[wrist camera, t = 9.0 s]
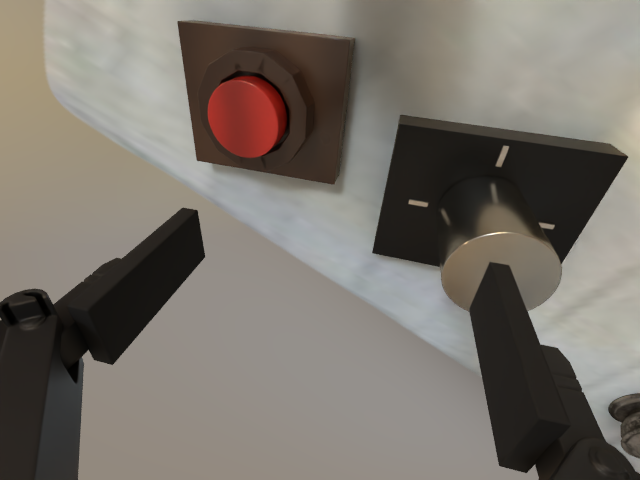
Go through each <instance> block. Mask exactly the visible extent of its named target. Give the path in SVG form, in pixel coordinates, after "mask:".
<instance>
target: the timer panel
mask: <svg viewBox="0 0 640 480" xmlns="http://www.w3.org/2000/svg"><path fill="white" fill-rule="evenodd" d="M627 158H628V156H627V155H625V154H624V153H622V152H621V151H619V150H618V149H616V148H615V147H613V146H612V145H611V144H606V143H599V142H592V141H585V140H578V139H570V138H563V137H556V136H549V135H542V134H534V133H527V132H520V131H513V130H506V129H498V128H491V127H484V126H477V125H470V124H462V123H455V122H448V121H441V120H434V119H427V118H419V117H412V116H405V115H400V120H399V125H398V130H397V135H396V139H395V144H394V149H393V154H392V159H391V164H390V168H389V173H388V178H387V183H386V188H385V193H384V197H383V202H382V207H381V212H380V217H379V222H378V226H377V231H376V236H375V241H374V247H373V252H372V253H374V254H379V255H384V256H389V257H394V258H399V259H404V260H409V261H414V262H419V263H423V264H428V265H433V266H438V267H440V259H439V247H438V236H437V224H436V210H437V206H438V204H439V202H440V200H441V198H442V197H443V195H444V194H445V193H446V192H447V191H448V190H449V189H450V188H451V187H453V186H454V185H455V184H457V183H459V182H461V181H463V180H465V179H468V178H471V177H476V176H495V177H500V178H503V179H505V180H508V181H509V182H511V183H513V184H514V185H515V186H516V187H517V188H518V189H519V190H520V191H521V193H522V194H523V196H524V198H525V200H526V201H527V203H528V205H529V206H530V208H531V210H532V212H533V213H534V215H535V217H536V219H537V220H538V222H539V224H540V226H541V227H542V229H543V231H544V233H545V234H546V236H547V238H548V240H549V241H550V243H551V245H552V247H553V248H554V250H555V252H556V254H557V255H558V257H559V260H560V262H561V264H562V262H563V261H564V259H565V257H566V256H567V254H568V253H569V251H570V249H571V248H572V246H573V245H574V243H575V241H576V240H577V238H578V237H579V235H580V233H581V232H582V230H583V229H584V227H585V225H586V224H587V222H588V221H589V219H590V217H591V216H592V214H593V213H594V211H595V209H596V208H597V206H598V205H599V203H600V201H601V200H602V198H603V197H604V195H605V193H606V192H607V190H608V189H609V187H610V185H611V184H612V182H613V181H614V179H615V177H616V176H617V174H618V173H619V171H620V170H621V168H622V166H623V165H624V163H625V162H626V160H627Z"/></svg>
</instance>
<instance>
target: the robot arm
mask: <svg viewBox="0 0 640 480" xmlns="http://www.w3.org/2000/svg"><path fill="white" fill-rule="evenodd" d="M204 258H205V253H204V247H203V241H202V235H201V229H200V223H199V217H198V211H197V210H193V209H187V208H182V209H181V210H179V211H178V212H177V213H176V214H175V215H173V216H172V217H171V218H170V219H169V220H167V221H166V222H165V223H164V224H163V225H161V226H160V227H159V228H158V229H157V230H156V231H154V232H153V233H152V234H151V235H150V236H148V237H147V238H146V239H145V240H144V241H142V242H141V243H140V244H139V245H138V246H136V247H135V248H134V249H133V250H132V251H130V252H129V253H128V254H127V255H126V256H125V257H123V258H122V259H120V258H115V259H113V260H111V261H109V262H107V263H105V264H103V265H102V266H101V267H99V268H98V269H97V270H96V271H94V272H93V274H92V275H90V276H88V277H87V278H86V279H85V280H84V282H81V283H80V284H78V285H77V286H76V287H75V288H73V289H72V290H71V291H70V292H68V293H67V294H66V295H65V296H63V297H62V298H61V299H60V300H58V301H57V302H56V303H55V304H54V305H53V304H52V302H51V300H50V298H49V296H48V294H47V293H46V292H45V291H43V290H40V289H29V290H24V291H20V292H17V293H15V294H13V295H11V296H9V297H7V298H5V299H4V300H3V301H2V302H0V318H1V319H2V320H0V480H78V464H79V445H80V426H81V407H82V389H83V368H84V363H83V359H82V356H83V355H84V354H85V353H86V352H87V351H88V350H89V351H90V353H91V355H92V357H93V358H94V360H97V361H100V362H104V363H107V364H111V365H113V364H114V363H115V362H116V360H117V359H118V358H119V357H120V355H122V353H123V352H124V351H125V350H126V349H127V348H128V346H129V345H130V344H131V343H132V342H133V341H134V339H135V338H136V337H137V336H138V335H139V333H140V332H141V331H142V330H143V329H144V328H145V327H146V325H147V324H148V323H149V322H150V321H151V320H152V318H153V317H154V316H155V315H156V314H157V313H158V311H159V310H160V309H161V308H162V307H163V305H164V304H165V303H166V302H167V301H168V299H169V298H170V297H171V296H172V295H173V294H174V293H175V292H176V290H177V289H178V288H179V287H180V286H181V284H182V283H183V282H184V281H185V280H186V278H187V277H188V276H189V275H190V274H191V273H192V271H193V270H194V269H195V268H196V267H197V266H198V265H199V263H200V262H201V261H202V260H203V259H204ZM469 311H470V316H471V322H472V327H473V332H474V337H475V342H476V348H477V353H478V358H479V363H480V368H481V374H482V379H483V384H484V389H485V394H486V399H487V405H488V410H489V415H490V420H491V425H492V430H493V436H494V441H495V446H496V452H497V457H498V462H499V466H502V467H505V468H509V469H513V470H517V471H521V472H525V473H527V472H528V471H529V470H530V469H531V468H532V467H533V466H534V465H536V469H537V472H538V476H539V480H640V474H639V473H637V472H636V471H635V470H634V468H633V467H632V465H631V464H630V462H629V461H628V460H627V458H626V457H625V456H624V455H623V454H621V453H620V452H619V451H618V450H617V449H616V448H615V447H613V446H612V445H610V444H608V443H607V442H606V440H605V439H604V437H603V435H602V432H601V430H600V428H599V426H598V424H597V421H596V419H595V417H594V415H593V412H592V410H591V408H590V406H589V404H588V401H587V399H586V397H585V395H584V393H583V392H582V388H581V386H580V384H579V382H578V380H576V375H575V373H574V370H573V368H572V366H571V364H570V362H569V361H568V360H567V359H566V357H565V356H564V355H563V354H562V353H561V352H560V351H559V349H558V348H555V347H550V346H545V345H540V343H539V340H538V338H537V335H536V332H535V330H534V327H533V325H532V322H531V320H530V317H529V314H528V312H527V309H526V307H525V304H524V301H523V299H522V296H521V294H520V291H519V288H518V286H517V283H516V281H515V278H514V276H513V273H512V270H511V268H510V265H506V264H500V263H494V262H489V265H488V267H487V269H486V272H485V274H484V276H483V278H482V281H481V283H480V285H479V288H478V290H477V292H476V294H475V297H474V299H473V301H472V303H471V306H470V308H469Z"/></svg>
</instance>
